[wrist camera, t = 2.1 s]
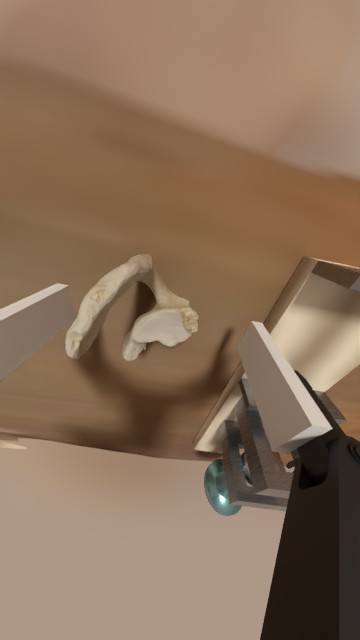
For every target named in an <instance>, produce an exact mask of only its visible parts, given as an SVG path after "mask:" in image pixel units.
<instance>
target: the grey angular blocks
mask: <svg viewBox="0 0 360 640" xmlns="http://www.w3.org/2000/svg"><path fill="white" fill-rule="evenodd" d="M311 273H313V274H315V275H318V276H320V277H322V278H325V279H327V280H329V281H332V282H334V283H336V284H339V285H341V286H343V287H346V288H348V289H352V290H357V291H360V269H357V268H352V267H347V266H343V265H338V264H333V263H328V262H324V261H318V262H317V264H316V265H315V267H314V268H313V270H312V271H311ZM239 386H240V389H241V393H242V396H243V397H241V398H240V399H239V401H238V402H237V403H236V405H235V406H234V408H235V412H236V417H237V421H238V422H235V421H228V420H224V421H223V422H222V424H221V425H220V426H219V431H220V439H221V446H222V453H223V461H224V468H225V476H226V483H227V490H228V498H229V504H233V505H241V506H250V507H257V508H265V509H272V510H280V511H286V509H287V504H288V499H289V494H290V489H291V484H292V479H293V474H294V473H290V472H286V471H285V468H284V465H283V463H282V460H281V458H280V455H279V452H275V451H272V449H271V446H270V444H269V441H268V438H267V435H266V432H265V429H264V426H263V423H262V420H261V417H260V414H259V411H258V408H257V405H256V402H255V399H254V397H253V394H252V391H251V388H250V385H249V382H248V379H245V378H241V379H240V380H239ZM314 391H315V393H316V394H317V396H318V398H319V399H320V400H321V401H322V403H323V404H324V405H325V407H326V408H327V410H328V411H329V412H330V414H331V415H332V417H333V418H334V419H335V421H336V422H337V424H342V423H343V422H345V421H347V420H346V419H345V418H344V416H343V415H342V414H341V412H340V411H339V410H338V409H337V407H336V406H335V405H334V404H333V402H332V401H331V400H330V398H329V397H328V396H327V395H326V393H325V392H322V391H316V390H314ZM239 448H240V449H244V451H245V455H246V459H247V464H248V468H249V472H250V477H251V481H252V485H253V487H252V486H247V484H246V479H245V475H244V470H243V465H242V460H241V456H240V451H239ZM270 449H271V451H272V452H273V453H274V455H275V457H276V459H277V461H278V465H279V471H277V469H276V466H275V463H274V460H273V457H272V454H271V451H270ZM291 454H292V456H293V459H294V460H295V459H297V458H299V457H300V456H299V453H298V451H297V449H296V450H294V451H292V452H291Z"/></svg>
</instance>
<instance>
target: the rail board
mask: <svg viewBox="0 0 360 640" xmlns="http://www.w3.org/2000/svg"><path fill="white" fill-rule="evenodd" d="M318 261H324V262H328V263H333V264H338V265H343V266H347V267H352V268H357V269H360V268H359V267H354V266H349V265H344V264H340V263H335V262H330V261H325V260H321V259H316V258H311V257H306V256H304V257H303V259H302V261H301V262H300V264H299V266H298V267H297V269H296V271H295V272H294V274H293V276H292V277H291V279H290V281H289V282H288V284H287V286H286V287H285V289H284V291H283V292H282V294H281V296H280V297H279V299H278V301H277V302H276V304H275V306H274V307H273V309H272V311H271V312H270V314H269V316H268V318H267V319H266V321H265V323H264V324H263V325H264V327H265V328H266V330H267V331H268V333H269V334H270V336H271V337H272V339H273V340H274V342H275V343H276V345H277V346H278V348H279V349H280V351H281V352H282V354H283V355H284V357H285V358H286V360H287V361H288V363H289V364H290V366H291V367H292V369H293V370H297V371H298V372H299V373H300V374H301V375H302V376H303V377H304V378H305V379H306V380H307V381H308V383H309V384H310V386H311V387H312V388H313V389H312V390H316V391H322V392H325V391H326V390H327V389H329V388H330V387H331V386H333V385H334V384H335V383H336V382H338V381H339V380H340V379H341V378H343V377H344V376H345V375H347V374H348V373H349V372H350V371H352V370H353V369H354V368H355V367H357V366H358V365H359V364H360V291H357V290H352V289H348V288H346V287H343V286H341V285H339V284H336V283H334V282H332V281H329V280H327V279H325V278H322V277H320V276H318V275H315V274H313V273H311V271H312V270H313V268H314V267H315V265H316V264H317V262H318ZM241 378H245V379H247V376H246V373H245V370H244V367H243V364H242V361H241V363H240V364H239V366H238V368H237V369H236V371H235V373H234V374H233V376H232V378H231V379H230V381H229V383H228V384H227V386H226V388H225V389H224V391H223V393H222V394H221V396H220V398H219V399H218V401H217V403H216V404H215V406H214V408H213V409H212V411H211V413H210V414H209V416H208V418H207V419H206V421H205V423H204V424H203V426H202V428H201V429H200V431H199V433H198V434H197V436H196V438H195V439H194V450H201V451H208V452H214V453H221V454H223V453H222V446H221V439H220V431H219V426H220V425H221V424H222V422H223V421H224V420H228V421H235V422H238V421H237V417H236V412H235V408H234V406H235V405H236V403H237V402H238V401H239V399H240V398H241V397H243V396H242V393H241V389H240V386H239V380H240V379H241ZM239 451H240V455H241V454H242V453H243V452H245V451H244V449H240V448H239Z"/></svg>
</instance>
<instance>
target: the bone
mask: <svg viewBox="0 0 360 640" xmlns="http://www.w3.org/2000/svg"><path fill="white" fill-rule="evenodd" d="M136 281H140V282H143V283H145V284H146V285H147V286H148V287H149V288H150V289H151V290H152V292H153V293H154V296H155V298H156V303H157V304H156V305H155V307H154V308H153V309H152V310H150V311H149V312H146V313H144V314H143V315H141V316H140V317H138V318H137V320H136V321H135V323H134V326H133V328H132V329H131V330H130V331H129V332H128V334H127V335H126V336H125V338H124V340H123V343H122V346H123V352H122V354H123V357H124V358H125V360H127V361H128V362H130V361H133V360H134V359H136V358H137V357H138V354H139V353H140V352H141V351H142V350H143V349H144V350H145V349H146V344H147V342H153V341H159V342H161V343H162V344H163V345H166V346H169V347H171V346H174V345H177V343H178V342H179V343H180V342H182V341H185V340H186V339H187V338H188V337H190V336H191V333H196V332H197V331H198V323H197V319H198V318H199V316H198V314H197V313H196V311H193V310H192V308H191V307H190V306H189V301H187V300H185V299H183V298H180V297H178V296H176V295H175V294H173V293H172V292H171V291H170V290H169V289H168V288H167V287H166V285H165V284H164V282H163V280H162V278H161V276H160V274H159V272H158V270H157V268H156V266H155V264H154V262H153V260H152V257H151V255H149V254H139V255H136V256H134V257H132V258H131V259H129V261H128V262H127V263H126V264H123V265H121V266H119V267H118V268H115V269H114V270H112V271H111V272H109V273H108V274H107V275H105V276H104V277H103V278H101V279H100V280H99V282H98V283H97V284H96V285H95V286H94V287H93V288H91V290H90V291H89V292H88V294H87V295H86V296H85V297H84V299H83V301H82V303H81V305H80V309H79V312H78V316H77V318H76V320H75V321H74V323H73V324H72V326H71V327H70V329H69V330H68V332H67V336H66V340H65V346H66V354H67V355H68V356H69V357H70V358H71V359H79V358H80V356H81V355H82V354H84V353H85V352H87V351H88V349H89V348H90V347H91V345H92V343H93V341H94V339H95V338H96V336H97V335H98V333H99V331H100V329H101V327H102V325H103V323H104V321H105V319H106V316H107V313H108V311H109V309H110V308H111V307H112V305H113V304H114V303H115V302H116V301H117V299H118V298H120V297H121V296H122V295H123V293H124V292H125V291H126V290H127V289H128V288H129V287H130V286H131V285H133V284H134V283H135V282H136Z"/></svg>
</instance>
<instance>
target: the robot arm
mask: <svg viewBox="0 0 360 640" xmlns="http://www.w3.org/2000/svg"><path fill="white" fill-rule="evenodd" d="M76 318H77V317H76V313H75V309H74V305H73V301H72V297H71V293H70V289H69V286H68V285H63V284H58V283H57V284H55V285H53V286H51V287H48V288H46V289H44V290H42V291H40V292H37V293H35V294H33V295H31V296H29V297H26V298H24V299H22V300H20V301H18V302H16V303H13V304H11V305H9V306H7V307H5V308H2V309H0V382H1V381H2V380H3V379H4V378H5V377H7V376H8V375H9V374H10V373H11V372H13V371H14V370H15V369H16V368H18V367H19V366H20V365H21V364H22V363H24V362H25V361H26V360H27V359H28V358H30V357H31V356H32V355H33V354H34V353H36V352H37V351H38V350H39V349H40V348H42V347H43V346H44V345H45V344H46V343H48V342H49V341H50V340H51V339H52V338H54V337H55V336H56V335H57V334H58V333H60V332H61V331H62V330H63V329H64V328H66V327H67V326H68V325H69V324H70V323H72V322H73V321H74V320H75V319H76ZM237 350H238V353H239V355H240V358H241V361H242V364H243V367H244V370H245V373H246V376H247V379H248V382H249V385H250V388H251V391H252V394H253V397H254V399H255V402H256V405H257V408H258V411H259V414H260V417H261V420H262V423H263V426H264V429H265V432H266V435H267V438H268V441H269V444H270V446H271V449H272V451H275V452H281V453H287V454H289V453H290V452H292V451H294V450H296V449H297V451H298V453H299V456H300V457H299V458H297V459H295V460H293V461H291V462H289V463H288V464H287V466H286V467H287V468H288V469H289V468H292V467H294V466H295V469H294V471H293V473H294V474H293V479H292V484H291V489H290V494H289V499H288V504H287V509H286V514H285V519H284V524H283V529H282V534H281V539H280V544H279V549H278V553H277V558H276V563H275V568H274V573H273V578H272V583H271V588H270V593H269V598H268V604H267V608H266V613H265V618H264V623H263V628H262V633H261V638H260V640H360V442H359V441H358V440H356V439H354V438H352V437H349V436H346V435H345V433H344V432H343V431H342V429H341V428H340V427H339V425H338V424H337V422H336V421H335V419H334V418H333V417H332V415H331V414H330V412H329V411H328V410H327V408H326V407H325V405H324V404H323V403H322V401H321V400H320V399H319V398H318V396H317V394H316V393H315V391H314V390H312V389H313V388H312V387H311V386H310V384H309V383H308V381H307V380H306V379H305V378H304V377H303V376H302V375H301V374H300V373H299V372H298V371H297V370H293V369H292V367H291V366H290V364H289V363H288V361H287V360H286V358H285V357H284V355H283V354H282V352H281V351H280V349H279V348H278V346H277V345H276V343H275V342H274V340H273V339H272V337H271V336H270V334H269V333H268V331H267V330H266V328H265V327H264V325H263V324H262V323H259V322H254V321H251V323H250V325H249V327H248V329H247V331H246V333H245V334H244V336H243V338H242V340H241V342H240V344H239V345H238V347H237Z"/></svg>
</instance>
